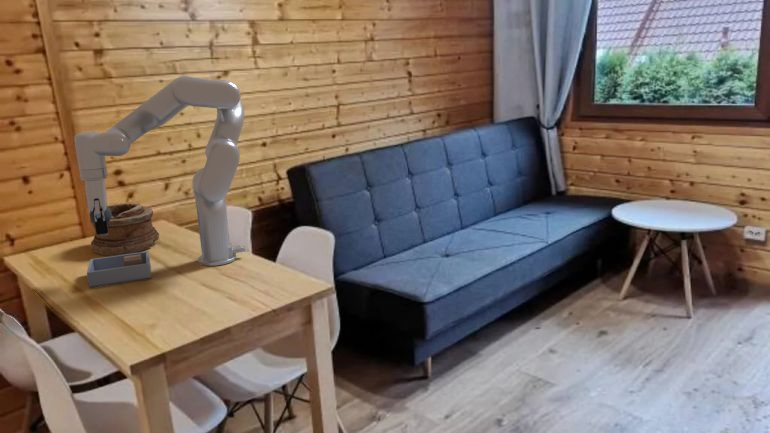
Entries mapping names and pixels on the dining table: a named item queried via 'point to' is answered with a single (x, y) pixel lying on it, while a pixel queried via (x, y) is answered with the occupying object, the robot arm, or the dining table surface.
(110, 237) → the container
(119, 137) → the robot arm
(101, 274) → the tote
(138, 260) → the walnut cube
